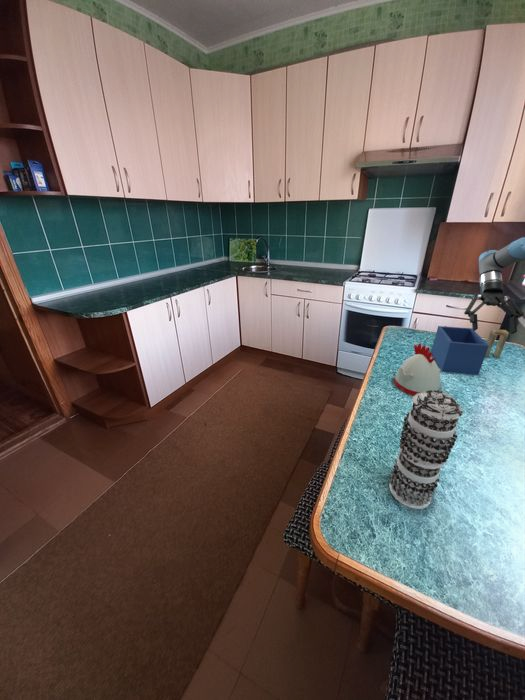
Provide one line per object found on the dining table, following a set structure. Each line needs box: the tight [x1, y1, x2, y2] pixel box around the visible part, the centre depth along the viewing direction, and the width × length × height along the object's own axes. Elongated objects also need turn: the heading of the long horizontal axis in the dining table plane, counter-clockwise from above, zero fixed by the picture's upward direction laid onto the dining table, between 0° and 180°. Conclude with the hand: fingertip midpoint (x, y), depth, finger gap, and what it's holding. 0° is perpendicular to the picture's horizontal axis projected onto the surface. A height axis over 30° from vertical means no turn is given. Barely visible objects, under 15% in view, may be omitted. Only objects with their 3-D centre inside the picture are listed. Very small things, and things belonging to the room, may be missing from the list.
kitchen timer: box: [393, 343, 442, 396], centre depth 97 cm, size 14×14×15 cm
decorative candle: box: [388, 390, 463, 510], centre depth 58 cm, size 9×9×25 cm
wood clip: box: [485, 328, 510, 359], centre depth 115 cm, size 5×3×11 cm, turn 75°
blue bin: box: [430, 325, 489, 376], centre depth 111 cm, size 16×12×12 cm
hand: (494, 331), depth 117 cm, fingers open, 13 cm apart
